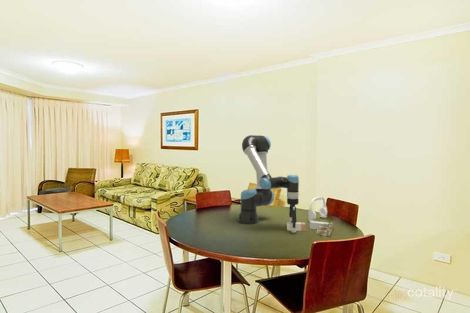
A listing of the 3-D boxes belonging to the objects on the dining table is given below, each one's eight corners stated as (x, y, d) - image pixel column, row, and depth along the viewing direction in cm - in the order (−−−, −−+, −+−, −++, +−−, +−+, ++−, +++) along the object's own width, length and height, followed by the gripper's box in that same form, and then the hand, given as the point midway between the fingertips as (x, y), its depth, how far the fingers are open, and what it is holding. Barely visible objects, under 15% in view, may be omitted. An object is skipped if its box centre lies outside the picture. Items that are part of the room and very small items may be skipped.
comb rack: (316, 235, 183) (316, 227, 183) (321, 226, 202) (321, 220, 202) (329, 236, 180) (329, 229, 180) (333, 228, 199) (333, 221, 198)
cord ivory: (287, 230, 193) (287, 223, 193) (286, 228, 198) (286, 222, 197) (305, 231, 192) (305, 224, 192) (304, 229, 197) (304, 222, 196)
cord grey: (309, 228, 197) (309, 222, 197) (310, 227, 202) (311, 220, 201) (328, 231, 192) (328, 224, 192) (328, 229, 196) (329, 222, 196)
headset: (313, 223, 212) (314, 199, 211) (305, 221, 217) (306, 197, 217) (328, 219, 225) (329, 196, 224) (320, 217, 230) (321, 195, 230)
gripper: (301, 201, 182) (300, 235, 182) (296, 195, 206) (295, 224, 207) (289, 201, 182) (288, 234, 183) (285, 195, 207) (285, 224, 208)
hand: (292, 229), depth 195 cm, fingers open, 13 cm apart
